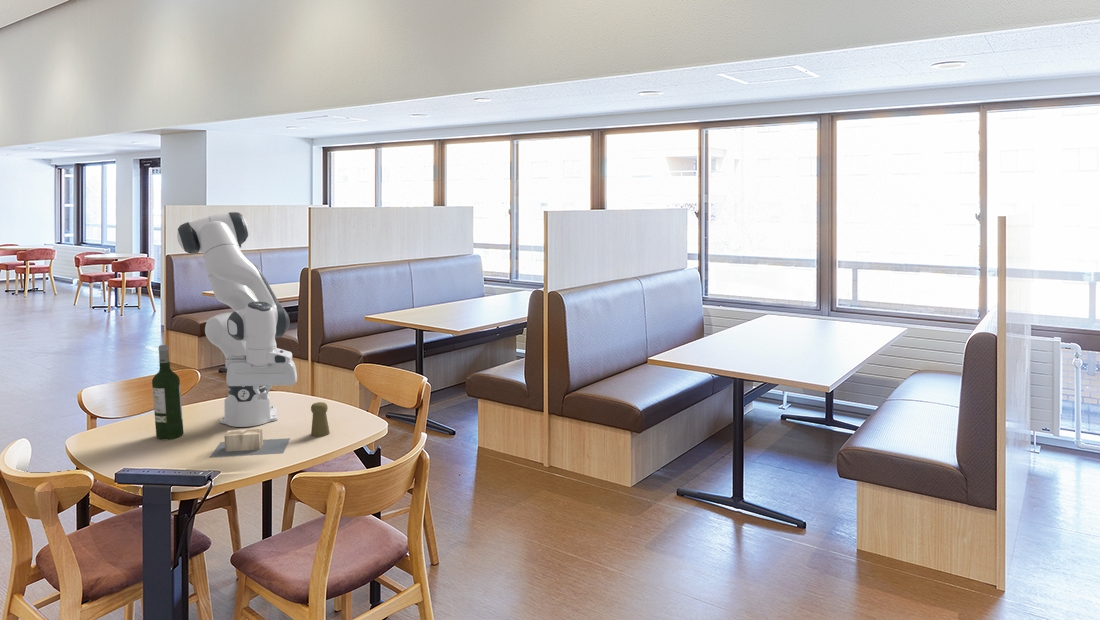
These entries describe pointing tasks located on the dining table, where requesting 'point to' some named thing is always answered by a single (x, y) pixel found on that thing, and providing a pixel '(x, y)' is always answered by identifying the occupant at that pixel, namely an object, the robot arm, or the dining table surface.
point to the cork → (319, 420)
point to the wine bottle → (167, 399)
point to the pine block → (243, 440)
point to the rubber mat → (267, 448)
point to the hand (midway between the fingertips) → (262, 399)
